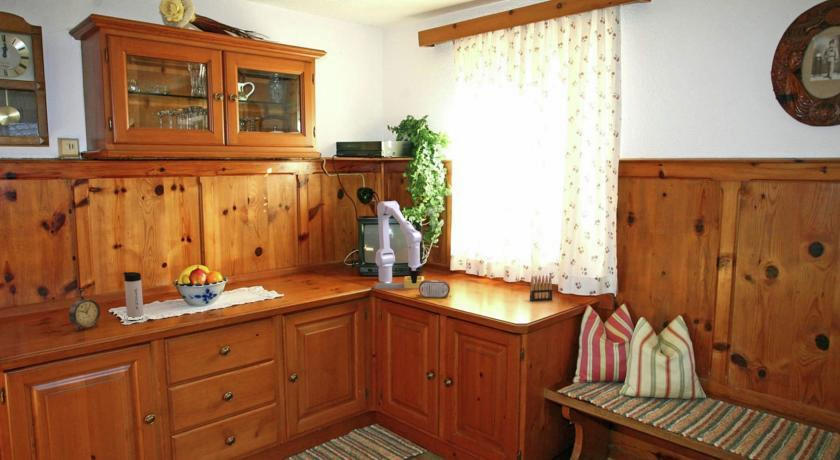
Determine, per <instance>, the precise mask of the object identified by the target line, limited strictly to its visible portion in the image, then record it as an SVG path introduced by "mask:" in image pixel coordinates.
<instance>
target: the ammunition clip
mask: <svg viewBox="0 0 840 460" xmlns="http://www.w3.org/2000/svg"><path fill="white" fill-rule="evenodd" d="M541 276H542V277H541ZM552 287H553V282H552V275H551V274H549V276H548V275H544V274H543V275H539V276H537V275H535V277H534V275H531V279H530V289H529V302H543V301H545V302H546V301H553V288H552Z"/></svg>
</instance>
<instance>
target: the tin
mask: <svg viewBox="0 0 840 460" xmlns="http://www.w3.org/2000/svg"><path fill="white" fill-rule="evenodd" d="M418 292H419V294H420V296H422V297H424V298H427V297H428V299H429V298H432V299H439V298H440V299H443V298H446V297H447V296H449V294H450V292H451V287H450V284H449V283H448V282H447V281H446V280H443V279H424V281H422V282H421V283H420V285H419V289H418Z"/></svg>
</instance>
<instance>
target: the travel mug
mask: <svg viewBox="0 0 840 460" xmlns="http://www.w3.org/2000/svg"><path fill="white" fill-rule="evenodd" d="M122 275H124V276H123V277H124V293H125V306H126V307H125V308H126V317H127V316H128V317H132V318H135V317H141V316H143V315H144V303H143V301H144V300H143V288H142V287H143V286H142V275H141V272H135V271H133V272H132V271H130V272H128V271H126V272H123V273H122Z"/></svg>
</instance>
